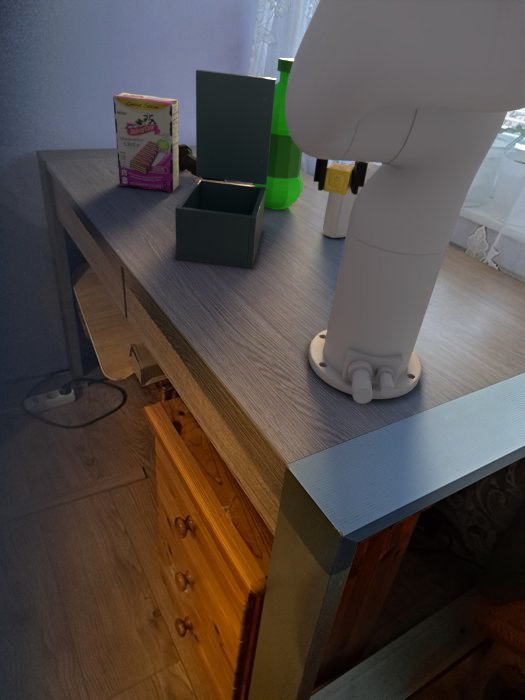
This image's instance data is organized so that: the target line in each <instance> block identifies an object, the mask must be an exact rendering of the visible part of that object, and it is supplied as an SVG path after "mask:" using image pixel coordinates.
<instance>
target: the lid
mask: <svg viewBox="0 0 525 700" xmlns="http://www.w3.org/2000/svg"><path fill="white" fill-rule="evenodd" d="M276 81H277V78H275V77H266V76H258V75H257V76H256V75H249V74H240V73H231V72H222V71H212V70H203V69H196V70H195V149H196V150H195V152H196V153H195V157H196V176H195V177H196V178H201V177H204V178H212V179H220V180H225V181H229V182H238V183H247V184H252V183H254V184H262V185H266V184H267V174H268V163H269V151H270V140H271V129H272V117H273V106H274V94H275V85H276V84H277V82H276Z"/></svg>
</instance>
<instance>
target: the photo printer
mask: <svg viewBox="0 0 525 700" xmlns="http://www.w3.org/2000/svg"><path fill="white" fill-rule="evenodd" d="M345 165H348V166H353V167H354V165H355V161H351V162H348V163H346V164H345ZM380 166H381V165H380V164H379V163H376V162H369V163H368V167H367V172H366V177H365V182H364V185H365V183H366V182H367V181H368V180H369V179H370V177H371V176H372V175H373V174H374V173H375V172H376V170H377V169H378V168H379V167H380ZM362 188H363V187H359V188H358V193H357V195H358V194H359V192H360V190H361V189H362ZM357 195H354V194H353V193H351V187H350V189H349V190H348V192H347V193H346V194H345V195H341V194H337V193H332V192H328V197H327V202H326V208H325V213H324V218H323V225H322V231H323V234H324V235H325V236H327V237H329V238H332V239H335V238H336V239H337V238H344V237H345V238H346V233H347V228H348V222H349V217H350V213H351V209H352V206H353V204H354V201H355V199H356V197H357Z"/></svg>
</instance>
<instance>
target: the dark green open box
mask: <svg viewBox="0 0 525 700" xmlns="http://www.w3.org/2000/svg"><path fill="white" fill-rule="evenodd" d="M265 195H266V187H261V186H253V185H252V184H244V183H236V182H235V183H234V182H228V181H225V182H219V181H211V180H204V179H203V178H196V179H195V181H194V182H193V184H192V185H191V186H190V188H189V189H188V190H187V192H186V193H185V195H184V196H183V197H182V198H181V200H179V202H178V204H176V207H175V209H174V217H175V218H174V221H175V224H174V225H175V260H182V261H183V260H185V261H191V262H199V263H208V264H216V265H222V266H223V265H224V266H232V267H239V268H246V269H253V267H254V263H255V259H256V255H257V252H258V248H259V245H260V242H261V237H262V233H263V226H264V215H265V206H264V205H265Z"/></svg>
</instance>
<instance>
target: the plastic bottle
mask: <svg viewBox="0 0 525 700" xmlns="http://www.w3.org/2000/svg"><path fill="white" fill-rule="evenodd" d="M293 61H294V58H290V57H289V58H288V57H278V59H277V69H276V70H277V71H278V72H279V80H278V82H276V83H275V94H274V106H273V117H272V129H271V140H270V151H269V163H268V174H267V184H266V185H262V184H254V183H251V185H253V186H261V187H266V195H265V205H264V208H267V209H270V210H279V211H282V210H286V209H288V208H289V207H290V206H292V205H293V204H295V203H296V202H297V201H298V199H299V197H300V196H301V193H302V191H303V187H304V182H303V179H302V176H301V173H300V172H301V166H302V158H303V152H302V151H301V150H300V149H299V148H298V147H297V146H296V145H295V143H294V142H293V140H292V138H291V136H290V133H289V131H288V127H287V122H286V115H285V98H286V90H287V83H288V79H289V75H290V71H291V68H292V64H293Z"/></svg>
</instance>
